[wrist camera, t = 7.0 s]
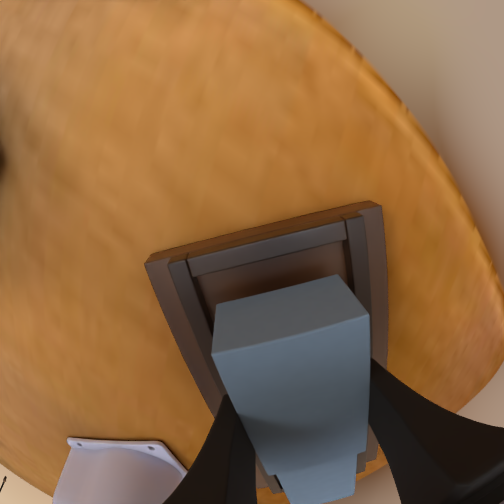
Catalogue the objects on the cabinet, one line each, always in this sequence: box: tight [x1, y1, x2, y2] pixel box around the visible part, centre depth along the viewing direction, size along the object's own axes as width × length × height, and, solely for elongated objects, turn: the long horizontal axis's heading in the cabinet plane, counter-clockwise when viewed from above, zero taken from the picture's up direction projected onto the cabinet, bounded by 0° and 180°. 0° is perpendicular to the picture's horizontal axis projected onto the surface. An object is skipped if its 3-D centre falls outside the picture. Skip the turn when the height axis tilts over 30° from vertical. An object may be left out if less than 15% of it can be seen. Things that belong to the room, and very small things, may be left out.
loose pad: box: [211, 274, 370, 476], centre depth 10 cm, size 5×8×3 cm, turn 14°
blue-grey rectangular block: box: [276, 454, 357, 504], centre depth 15 cm, size 5×8×3 cm, turn 14°
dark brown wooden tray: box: [144, 201, 388, 494], centre depth 15 cm, size 10×21×2 cm, turn 14°
